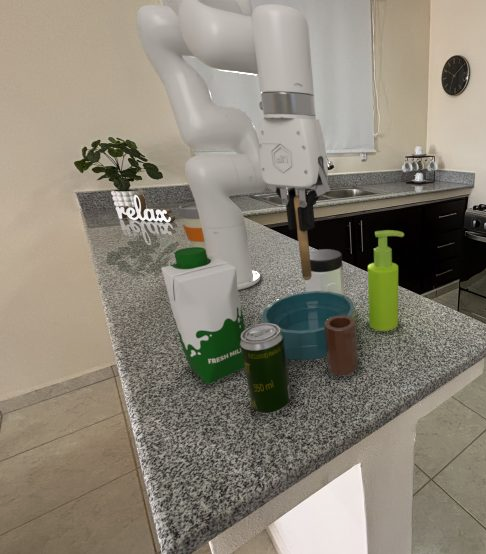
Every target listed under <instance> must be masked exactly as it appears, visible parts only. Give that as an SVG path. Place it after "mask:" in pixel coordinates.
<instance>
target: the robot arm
mask: <svg viewBox="0 0 486 554" xmlns="http://www.w3.org/2000/svg"><path fill="white" fill-rule="evenodd" d="M166 2H167V4H168V5H164V4H163V5H162V4H153V3H152V4H145V5H142V6H141V7H140V8H138V9H137V12H136V14H135V23H136V29H137V34H138V37H139V42H140V43H141V46H142V47H141V48H142V49H143V51H144V53H145V55H146V57H147V60H148V61H149V64H150V65H151V66H152V68H153V69H154V71H155V73H156V74H157V76H158V77H159V79H160V81H161V83H162V84H163V87H164V89H165V91H166V94H167V98H168V101H169V105H170V107H171V110H172V111H171V112H172V113H173V117H174V120H175V122H176V126H177V130H178V132H179V135H180V136H181V139H182V141H183V143H184V144H185V145H186V146H187V147H189V148H191V149H193V150H201V151H234V152H235V153H205V154H204V153H203V154H197V155H194V156H191V157H190V158H189V159H187V160H186V162H185V164H184V176H185V178H186V182H187V184H188V186H189V189H190V191H191V194H192V197H193V199H194V203H196V206H197V210H198V214H199V218H200V223H201V227H202V232H203V237H204V241H205V246H206V251H207V255H208V256H207V258H208V257H211V256H216V257H218V258H220V259H222V260H224V261H226V262H228V263H229V264H230V265H232V266H234V267H235V268H236V276H237V288H238V291H240V290H243V289H244V290H245V289H248V288H250V287H253V286H254V285H256V284H257V283H259V282H260V280H261V275H260V273H259V272H258V271H256V270H254V269H253V264H252V258H251V251H250V245H249V240H248V239H249V238H248V234H247V228H246V221H245V217H244V216H245V215H244V213H243V211H242V210H241V208H240V207H238V205H237V204H235V203H234V202H233V201H232V200H231V197H233V196H241V195H251V194H258V193H261V192H264V191H265V190H266V189H268V190H269V191H271V192H273V193H275V194H276V195H277V196H278V197H279V198H280V200H281V204H282V205H283V206H285V209H286V217H287V227H288V230H290V231H294V230H297V224H296V215H295V206H294V198H295V196H297V195H299V201H300V206H301V207H298V209H297V211H298V220H299V229H300V231H307V232H308V231H309V230H312V229H314V228H315V226H316V225H315V222H316V221H315V210H314V206H316V205H317V201H318V200H319V199H320V197H323V196H325V195H328V194H330V192H331V188H330V185H329V183H328V182H329V168H328V167H329V165H328V159H327V150H326V145H325V139H324V134H323V130H322V126H321V123H320V120H319V119H317V117H316V105H315V93H314V91H315V90H314V79H313V68H312V67H313V66H312V55H311V53H312V52H311V42H310V29H309V24H308V20H307V18H306V16H305V15H304V14H303V13H302V12H301V11H300V10H299V9H297V8H294V7H291V6H288V5H284V4H279V3H277V4H276V3H266V4H261V5H258V6H256V7H255V8H253V6H252V2H251V0H166ZM185 57H186V58H190V59H191V58H192V59H197V60H199V61H200V62H201V63H203V64H204V65H205V66H206V67H207V66H208V67H209V68H210V69H211V68H212V69H213V70H216V71H217V70H218V71H221V72H231V73H239V74H246V75H254V76H258V81H259V90H260V98H261V101H260V102H259V109H260V110H261V111H262V114H263V118H259V126H258V133H257V130H256V127H255V125H254V123H253V119H252V118H251V117H250V115H249V114H248V113H247V112H246V111H245V110H244V109H241V108H238V107H233V106H219V105H217V104H216V103H214V100H213V97H212V95H211V92H210V87H209V85H208V83H207V82H206V80H205V79H204V77H202V75H201V74H200V73H199V72H198V71H197V70H196V69H195V68H194V67H193V65H191V64H190V63H188V62H187V61H186V60H185Z"/></svg>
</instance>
